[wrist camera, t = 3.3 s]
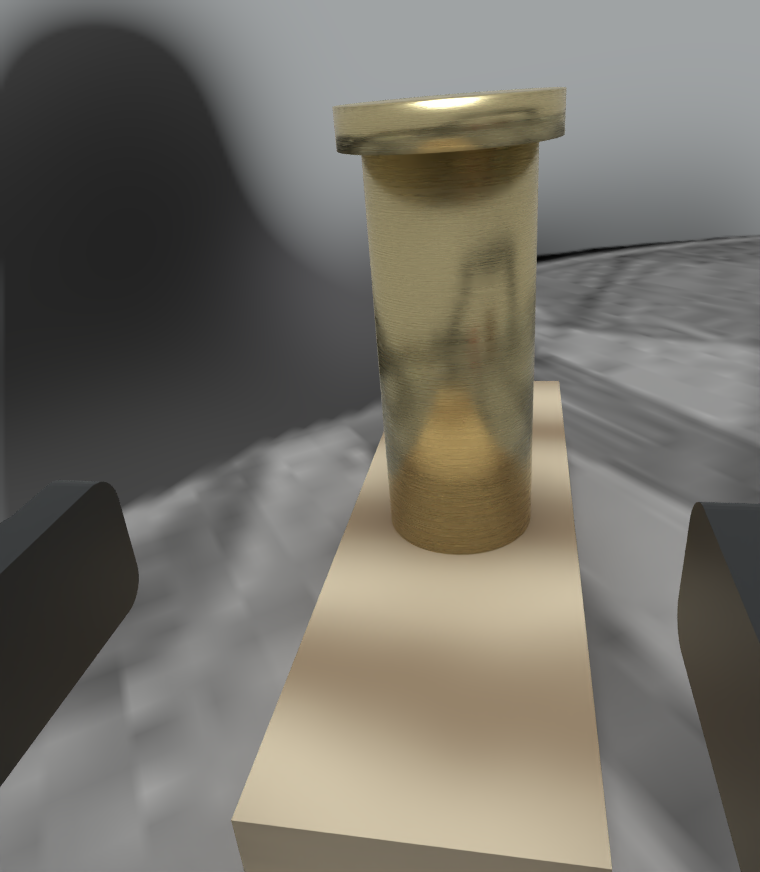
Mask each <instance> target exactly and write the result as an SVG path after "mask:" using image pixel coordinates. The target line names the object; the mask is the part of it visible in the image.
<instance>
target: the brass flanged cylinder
mask: <svg viewBox="0 0 760 872" xmlns="http://www.w3.org/2000/svg"><path fill="white" fill-rule="evenodd" d="M565 110H566V87H549V88H530V89H515V90H500V91H486V92H473V93H461V94H448V95H436V96H425V97H414V98H403V99H393V100H382V101H372V102H363V103H354V104H346V105H339V106H334V107H333V117H334V127H335V137H336V147H337V152H338V153H342V154H351V155H361V156H362V168H363V180H364V191H365V204H366V216H367V228H368V240H369V252H370V265H371V276H372V289H373V301H374V313H375V325H376V336H377V349H378V361H379V373H380V386H381V398H382V410H383V422H384V434H385V446H386V458H387V470H388V482H389V495H390V507H391V519H392V524H393V527H394V528H395V530H396V532H397V533H398V534H399V535H400V536H401V537H402V538H403V539H405V540H406V541H408V542H409V543H411V544H413V545H415V546H417V547H419V548H422V549H425V550H428V551H432V552H436V553H442V554H451V555H468V554H478V553H484V552H488V551H492V550H495V549H498V548H501V547H503V546H506V545H508V544H510V543H511V542H513V541H515V540H516V539H517V538H519V537H520V536H521V535H522V534H523V533H524V532H525V531H526V529H527V527H528V526H529V523H530V518H531V480H532V435H533V391H534V346H535V301H536V256H537V253H536V252H537V208H538V167H539V142H540V141H545V140H550V139H554V138H558V137H561V136H563V135H564V134H565Z"/></svg>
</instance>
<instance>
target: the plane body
mask: <svg viewBox="0 0 760 872" xmlns="http://www.w3.org/2000/svg"><path fill="white" fill-rule="evenodd" d="M231 821H232V825H233V829H234V833H235V836H236V840H237V844H238V848H239V852H240V856H241V860H242V863H243V867H244V871H245V872H612V864H611V855H610V846H609V837H608V828H607V819H606V809H605V800H604V791H603V782H602V773H601V764H600V754H599V745H598V736H597V727H596V718H595V709H594V699H593V690H592V681H591V672H590V663H589V653H588V644H587V635H586V626H585V617H584V608H583V598H582V589H581V580H580V571H579V562H578V553H577V543H576V534H575V525H574V516H573V507H572V498H571V488H570V479H569V470H568V461H567V452H566V442H565V433H564V424H563V415H562V406H561V397H560V387H559V381H534V391H533V435H532V480H531V518H530V523H529V526H528V527H527V529H526V531H525V532H524V533H523V534H522V535H521V536H520V537H519V538H517V539H516V540H515V541H513V542H511V543H510V544H508V545H506V546H503V547H501V548H498V549H495V550H492V551H488V552H484V553H478V554H468V555H451V554H442V553H436V552H432V551H428V550H425V549H422V548H419V547H417V546H415V545H413V544H411V543H409V542H408V541H406V540H405V539H403V538H402V537H401V536H400V535H399V534H398V533H397V532H396V530H395V528H394V527H393V524H392V519H391V507H390V495H389V482H388V470H387V458H386V446H385V434H384V433H383V435H382V438H381V440H380V443H379V445H378V448H377V451H376V453H375V456H374V458H373V461H372V463H371V466H370V468H369V471H368V473H367V476H366V479H365V481H364V484H363V486H362V489H361V491H360V494H359V496H358V499H357V501H356V504H355V507H354V509H353V512H352V514H351V517H350V519H349V522H348V524H347V527H346V529H345V532H344V535H343V537H342V540H341V542H340V545H339V547H338V550H337V552H336V555H335V557H334V560H333V563H332V565H331V568H330V570H329V573H328V575H327V578H326V580H325V583H324V585H323V588H322V591H321V593H320V596H319V598H318V601H317V603H316V606H315V608H314V611H313V614H312V616H311V619H310V621H309V624H308V626H307V629H306V631H305V634H304V636H303V639H302V642H301V644H300V647H299V649H298V652H297V654H296V657H295V659H294V662H293V664H292V667H291V670H290V672H289V675H288V677H287V680H286V682H285V685H284V687H283V690H282V692H281V695H280V698H279V700H278V703H277V705H276V708H275V710H274V713H273V715H272V718H271V720H270V723H269V726H268V728H267V731H266V733H265V736H264V738H263V741H262V743H261V746H260V748H259V751H258V754H257V756H256V759H255V761H254V764H253V766H252V769H251V771H250V774H249V776H248V779H247V782H246V784H245V787H244V789H243V792H242V794H241V797H240V799H239V802H238V804H237V807H236V810H235V812H234V815H233V817H232V820H231Z"/></svg>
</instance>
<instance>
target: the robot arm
mask: <svg viewBox="0 0 760 872" xmlns="http://www.w3.org/2000/svg"><path fill="white" fill-rule="evenodd" d="M138 583H139V574H138V567H137V563H136V559H135V556H134V552H133V549H132V545H131V541H130V538H129V534H128V531H127V527H126V523H125V520H124V516H123V513H122V509H121V506H120V502H119V498H118V496H117V493H116V491H115V490H114V488H113V487H112V486H111V485H110V484H108V483H106V482H95V481H94V482H93V481H63V480H58V481H54V482H51V483H50V484H49V485H47V486H46V487H45V488H44V489H43V490H41V491H40V492H39V493H38V494H37V495H36V496H34V497H33V498H32V499H31V500H30V501H29V502H27V503H26V504H25V505H24V506H23V507H22V508H21V509H20V510H19V511H17V512H16V513H15V514H14V515H12V516H11V517H10V518H8V519H6V520H4V521H3V522H1V523H0V786H1V785H2V784H3V782H4V781H5V780H6V778H7V777H8V776H9V774H10V773H11V771H12V770H13V769H14V767H15V766H16V765H17V763H18V762H19V761H20V759H21V758H22V756H23V755H24V754H25V752H26V751H27V750H28V748H29V747H30V746H31V744H32V743H33V742H34V740H35V739H36V737H37V736H38V735H39V733H40V732H41V731H42V729H43V728H44V727H45V725H46V724H47V722H48V721H49V720H50V718H51V717H52V716H53V714H54V713H55V712H56V710H57V709H58V708H59V706H60V705H61V703H62V702H63V701H64V699H65V698H66V697H67V695H68V694H69V693H70V691H71V690H72V688H73V687H74V686H75V684H76V683H77V682H78V680H79V679H80V678H81V676H82V675H83V674H84V672H85V671H86V669H87V668H88V667H89V665H90V664H91V663H92V661H93V660H94V659H95V657H96V656H97V654H98V653H99V652H100V650H101V649H102V648H103V646H104V645H105V644H106V642H107V641H108V639H109V638H110V637H111V635H112V634H113V633H114V631H115V630H116V629H117V627H118V626H119V625H120V623H121V622H122V620H123V619H124V618H125V616H126V615H127V614H128V612H129V611H130V609H131V608H132V605H133V603H134V601H135V598H136V595H137V590H138ZM677 618H678V635H679V643H680V648H681V652H682V656H683V660H684V664H685V667H686V671H687V675H688V678H689V682H690V686H691V689H692V693H693V697H694V700H695V704H696V708H697V711H698V715H699V719H700V723H701V726H702V730H703V734H704V737H705V741H706V745H707V748H708V752H709V756H710V759H711V763H712V767H713V770H714V774H715V778H716V782H717V785H718V789H719V793H720V796H721V800H722V804H723V807H724V811H725V815H726V818H727V822H728V826H729V829H730V833H731V837H732V841H733V844H734V848H735V852H736V855H737V859H738V863H739V866H740V870H741V872H760V504H747V503H715V502H697V503H695V505H694V507H693V509H692V512H691V517H690V523H689V530H688V536H687V543H686V550H685V557H684V564H683V571H682V578H681V584H680V591H679V598H678V614H677Z"/></svg>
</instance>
